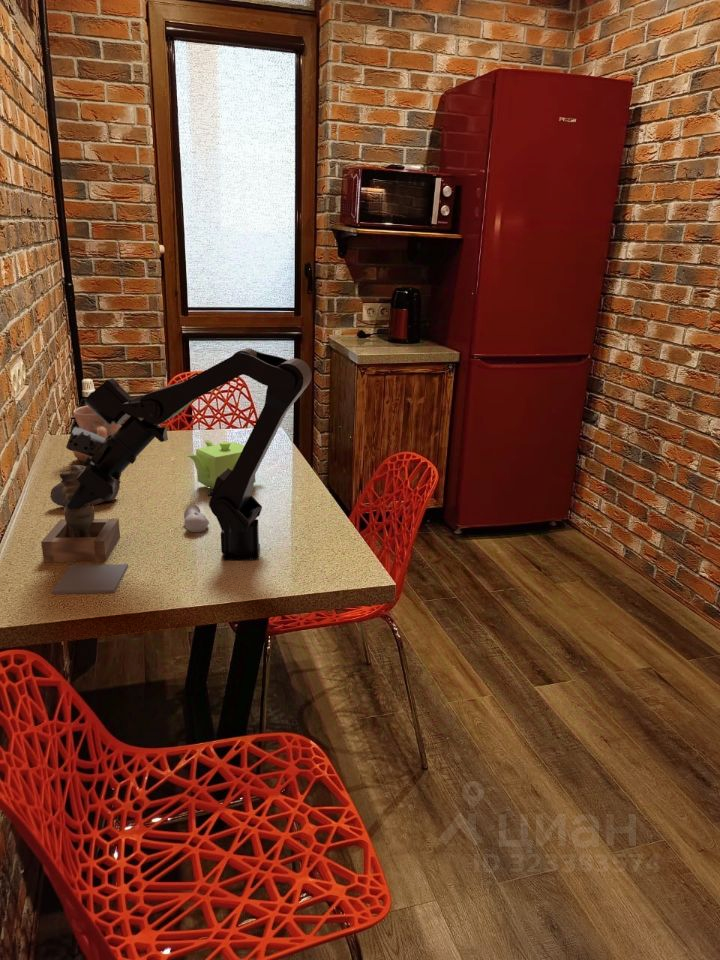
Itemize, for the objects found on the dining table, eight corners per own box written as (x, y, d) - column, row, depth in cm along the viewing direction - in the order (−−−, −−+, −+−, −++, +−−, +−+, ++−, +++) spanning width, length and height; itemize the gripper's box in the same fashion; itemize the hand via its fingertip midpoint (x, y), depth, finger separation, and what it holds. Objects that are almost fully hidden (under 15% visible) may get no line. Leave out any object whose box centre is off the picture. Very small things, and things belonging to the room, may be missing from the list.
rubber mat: (128, 566, 125) (127, 564, 125) (114, 592, 116) (114, 589, 116) (70, 567, 124) (70, 564, 124) (52, 593, 115) (52, 591, 115)
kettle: (187, 496, 161) (184, 449, 158) (202, 477, 175) (200, 434, 171) (251, 498, 161) (250, 451, 157) (261, 479, 174) (260, 436, 171)
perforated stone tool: (52, 512, 150) (48, 482, 147) (51, 504, 154) (47, 475, 152) (124, 503, 156) (122, 474, 154) (121, 496, 160) (119, 467, 158)
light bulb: (89, 533, 135) (81, 459, 130) (105, 540, 132) (97, 465, 127) (62, 541, 131) (52, 466, 126) (77, 550, 128) (68, 472, 123)
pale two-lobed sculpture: (207, 539, 141) (181, 534, 139) (205, 524, 148) (181, 519, 146) (212, 520, 140) (187, 514, 138) (210, 505, 147) (186, 500, 145)
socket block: (120, 537, 138) (118, 518, 136) (106, 561, 127) (103, 541, 126) (62, 538, 137) (60, 519, 135) (43, 562, 126) (41, 541, 125)
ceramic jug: (75, 453, 191) (70, 403, 187) (130, 450, 196) (126, 400, 191) (73, 473, 175) (66, 418, 171) (133, 468, 180) (128, 415, 175)
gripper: (98, 402, 133) (43, 460, 134) (84, 425, 116) (22, 492, 117) (144, 440, 137) (91, 496, 138) (137, 468, 120) (77, 532, 121)
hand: (71, 502), depth 129 cm, fingers closed on light bulb, 5 cm apart
